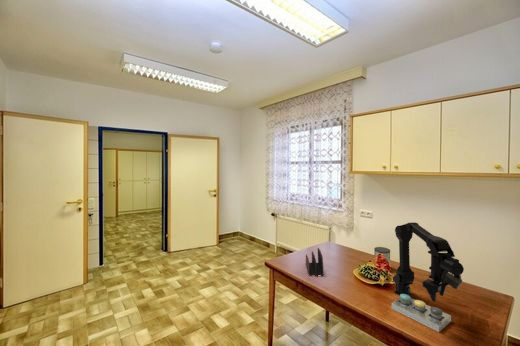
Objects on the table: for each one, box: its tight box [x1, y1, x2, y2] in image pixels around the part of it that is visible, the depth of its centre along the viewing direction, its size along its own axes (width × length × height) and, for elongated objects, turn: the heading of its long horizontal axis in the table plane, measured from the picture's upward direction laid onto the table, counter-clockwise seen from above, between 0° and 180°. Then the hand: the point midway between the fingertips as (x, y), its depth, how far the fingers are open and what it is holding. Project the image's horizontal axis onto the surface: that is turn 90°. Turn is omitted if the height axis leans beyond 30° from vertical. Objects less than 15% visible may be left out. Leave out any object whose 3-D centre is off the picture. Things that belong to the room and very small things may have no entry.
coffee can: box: [374, 246, 391, 265], centre depth 171 cm, size 10×10×14 cm
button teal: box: [399, 294, 411, 306], centre depth 125 cm, size 5×5×4 cm
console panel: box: [391, 297, 452, 333], centre depth 119 cm, size 21×13×3 cm, turn 33°
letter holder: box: [305, 247, 325, 277], centre depth 171 cm, size 10×20×14 cm, turn 175°
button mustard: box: [414, 299, 427, 313], centre depth 119 cm, size 5×5×4 cm
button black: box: [430, 306, 443, 321], centre depth 113 cm, size 5×5×4 cm
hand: (437, 298), depth 113 cm, fingers open, 8 cm apart
